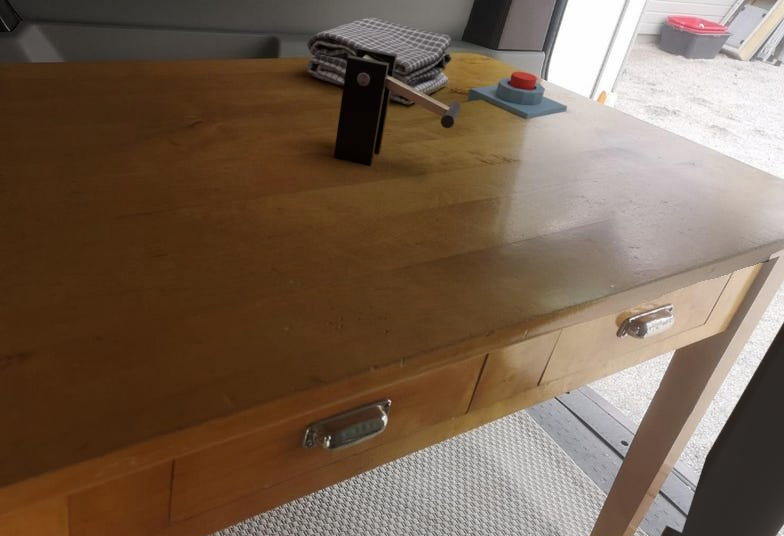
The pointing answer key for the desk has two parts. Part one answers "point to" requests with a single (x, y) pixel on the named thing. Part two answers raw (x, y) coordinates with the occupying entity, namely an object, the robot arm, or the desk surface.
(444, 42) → the towel
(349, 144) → the switch bracket
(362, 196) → the desk surface
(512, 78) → the button
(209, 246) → the desk surface
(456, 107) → the lever
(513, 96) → the control block
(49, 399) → the desk surface
